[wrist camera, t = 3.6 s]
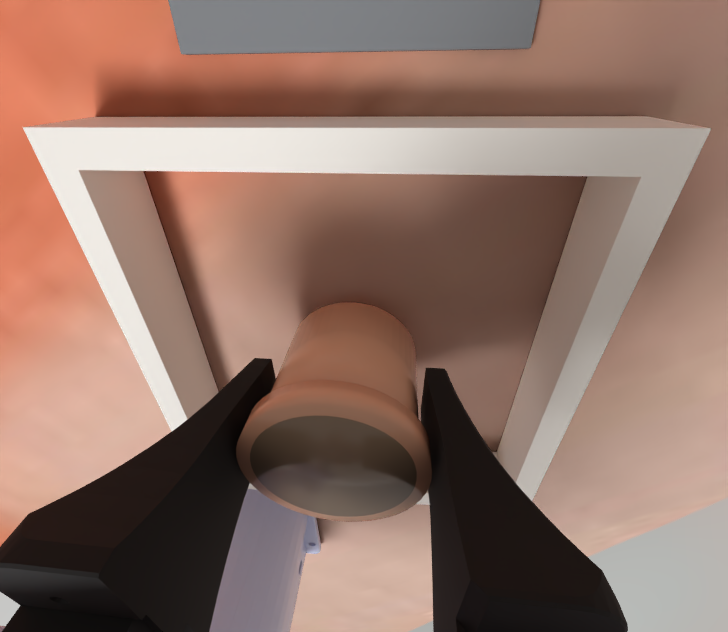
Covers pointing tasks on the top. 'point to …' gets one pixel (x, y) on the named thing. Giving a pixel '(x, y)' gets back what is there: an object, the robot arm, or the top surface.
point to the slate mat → (351, 25)
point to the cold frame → (378, 156)
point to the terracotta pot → (341, 420)
